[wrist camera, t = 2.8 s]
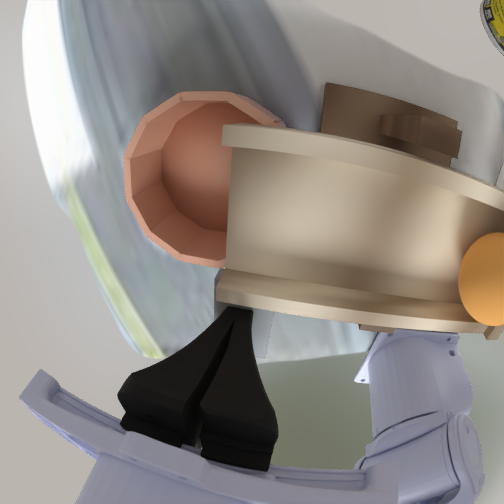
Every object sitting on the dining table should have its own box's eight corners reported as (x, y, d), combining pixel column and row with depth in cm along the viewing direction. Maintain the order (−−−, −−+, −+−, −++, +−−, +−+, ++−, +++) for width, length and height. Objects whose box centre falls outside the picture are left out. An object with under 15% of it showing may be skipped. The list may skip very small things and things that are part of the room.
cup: (307, 103, 15) (306, 98, 11) (287, 245, 20) (280, 279, 16) (161, 97, 16) (124, 96, 12) (161, 224, 21) (131, 250, 17)
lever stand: (450, 120, 13) (518, 132, 6) (405, 283, 19) (432, 353, 13) (325, 84, 14) (337, 60, 8) (297, 265, 20) (288, 337, 14)
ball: (515, 228, 8) (559, 269, 5) (486, 295, 10) (516, 345, 7) (463, 209, 9) (511, 251, 6) (434, 285, 11) (462, 344, 7)
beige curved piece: (497, 185, 11) (554, 221, 6) (432, 337, 16) (452, 395, 12) (241, 121, 12) (202, 124, 8) (228, 311, 18) (204, 374, 13)
